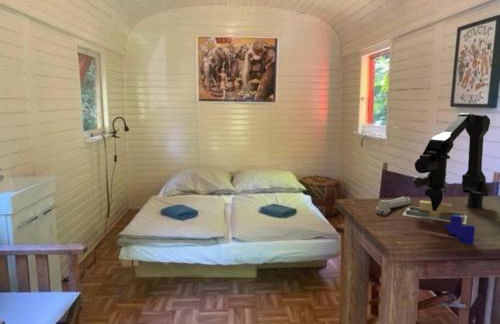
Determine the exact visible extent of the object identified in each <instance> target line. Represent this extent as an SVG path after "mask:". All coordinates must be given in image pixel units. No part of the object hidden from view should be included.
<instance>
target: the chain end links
mask: <svg viewBox="0 0 500 324" xmlns="http://www.w3.org/2000/svg"><path fill="white" fill-rule="evenodd" d="M407 208H408V210H406V209H405V210H406V214H411V215H418V216H425V217H428V212H421V211H419V206H411V205H408V207H407ZM451 215H459V216H461V217H462V222H463V218H464V215H465V213H464V212H458V211H457V212H456V211H451V214H450V215H443V214H440V215H439V219H446V220H451Z"/></svg>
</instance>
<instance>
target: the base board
mask: <svg viewBox="0 0 500 324" xmlns="http://www.w3.org/2000/svg"><path fill="white" fill-rule="evenodd" d="M408 208H409V207H406V209H405V210H404V212H403V213H402V216H406V217H412V218H419V219H426V220H434V221H439V222H440V221H441V222H446V223H450V220H446V219H439V217H436V216H428V217H425V216H418V215H411V214H406V210H408ZM467 219H468V215H465V214H464V218H463V222H462V225H467Z"/></svg>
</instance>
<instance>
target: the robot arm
mask: <svg viewBox="0 0 500 324" xmlns="http://www.w3.org/2000/svg"><path fill="white" fill-rule="evenodd" d="M490 125H491V119H490V117H488V115H485V114H475V113H469V112H468V113H467V112H462V113H459V114H458V115H457V117H456V118H455V120H453V122H452V123H450V125H449V126H448V127H447V128H446V129H445V130H444V131H443V132H441V133H439V134H437V135H435V136H433V137H432V138H431V139H430V140H429V141H428V142H427V145H426V147H425V149H424V151H423V153H422V154H420V155H419V158H418V159H417V160H416V161H415V162H414V169H415V171H416V172H417V173H418V174H427V175H424V176H419V177H415V178H414V179H413V180H412V182H413V183H412V185H414V188H415V189H417V188H420V187H424V186H426V188H425V190H424V196H425V197H428V198H430V202H431V204H432V209H433V211H436V210H437V208H438V206H439V204H440V203H442V201H443V199H444V196H445V194H446V193H447V191H446V190H447V189H448V182H447V181H446V178H447V177H446V176H447V163H448V160H449V159H451V156H450V155H449V153H450V152H451V151H452V149H453V148H454V142H455V140H456V139H457V138H458V137H459V136H460V135H461V133H462V132H464V131H466V133H467V134H468V136H469V141H468V142H469V143H468V144H469V147H468V163H467V164H468V165H467V171H466V172H465V174H463V175H461V179H462V181H461V187H462V193H465V194H467V201H466V204H465V207H466V208H472V209H473V208H474V209H481V210H484V208H485V207H484V205H483V204H484V197H488V196H489V195H490V192H491V188H489V186H488V184H487V181H486V179H487V178H486V176H485V174H484V172H483V171H482V167H483V153H484V152H483V150H484V137H485V135H486V134H487V132H488V131H489V129H490Z"/></svg>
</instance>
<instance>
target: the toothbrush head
mask: <svg viewBox="0 0 500 324" xmlns="http://www.w3.org/2000/svg"><path fill="white" fill-rule="evenodd" d="M410 204H412V199H411V197H409V196H400V197H397V198H393V199H389V200H384V199H383V200H382V199H381V200H379V202H378V206H376V207H375V208H376V209H375V210H376V214H379V215H388V214H390V212H391V209H393V208H399V207H404V206H407V205H408V206H409V205H410Z"/></svg>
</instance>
